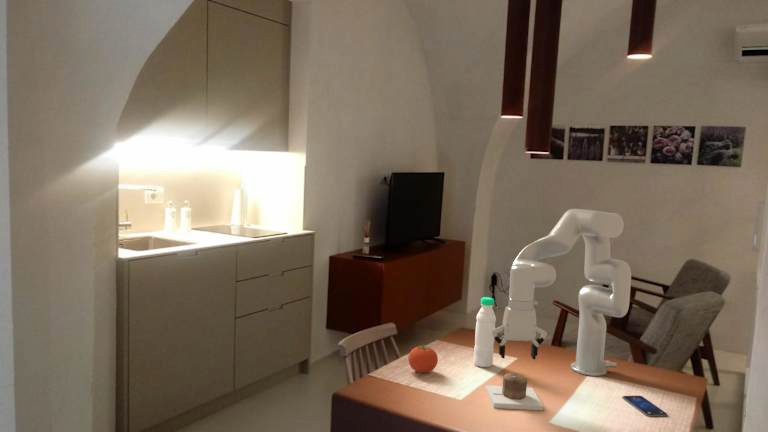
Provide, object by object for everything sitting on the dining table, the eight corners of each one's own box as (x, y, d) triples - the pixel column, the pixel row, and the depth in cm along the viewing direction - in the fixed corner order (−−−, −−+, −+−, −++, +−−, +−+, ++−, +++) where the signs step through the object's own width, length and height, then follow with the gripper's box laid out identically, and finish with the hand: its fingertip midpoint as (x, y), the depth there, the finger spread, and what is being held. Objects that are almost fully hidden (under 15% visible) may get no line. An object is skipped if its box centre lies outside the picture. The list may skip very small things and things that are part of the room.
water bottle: (469, 362, 219) (474, 296, 216) (485, 360, 222) (490, 295, 219) (480, 369, 213) (485, 300, 210) (496, 367, 216) (501, 299, 213)
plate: (531, 392, 193) (532, 375, 193) (542, 410, 179) (544, 392, 179) (485, 389, 193) (486, 373, 193) (493, 407, 179) (494, 390, 179)
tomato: (435, 368, 211) (437, 340, 210) (437, 378, 201) (439, 350, 200) (407, 366, 211) (408, 339, 210) (407, 376, 201) (409, 348, 200)
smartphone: (647, 415, 179) (620, 395, 193) (647, 418, 179) (620, 398, 193) (669, 414, 180) (641, 395, 194) (669, 417, 180) (641, 397, 195)
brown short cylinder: (522, 391, 190) (523, 373, 189) (527, 400, 183) (529, 381, 182) (500, 389, 190) (502, 372, 189) (505, 398, 183) (506, 380, 182)
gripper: (545, 301, 187) (542, 354, 189) (490, 300, 187) (488, 352, 189) (552, 308, 180) (548, 362, 182) (495, 306, 180) (492, 360, 182)
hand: (517, 357), depth 186 cm, fingers open, 9 cm apart
